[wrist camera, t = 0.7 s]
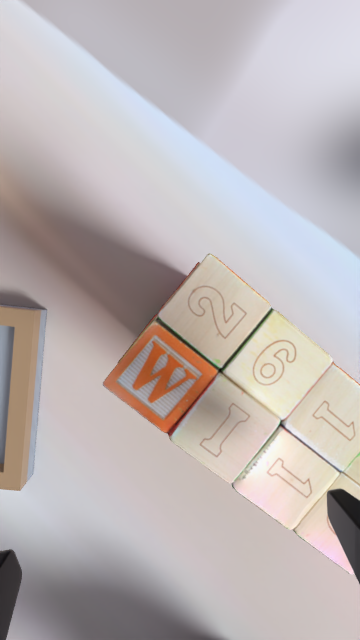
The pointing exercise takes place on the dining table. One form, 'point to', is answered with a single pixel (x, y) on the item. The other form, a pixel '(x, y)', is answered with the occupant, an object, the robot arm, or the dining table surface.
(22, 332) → the square wooden frame
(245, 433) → the stack of blocks
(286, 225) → the dining table surface
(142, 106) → the dining table surface
